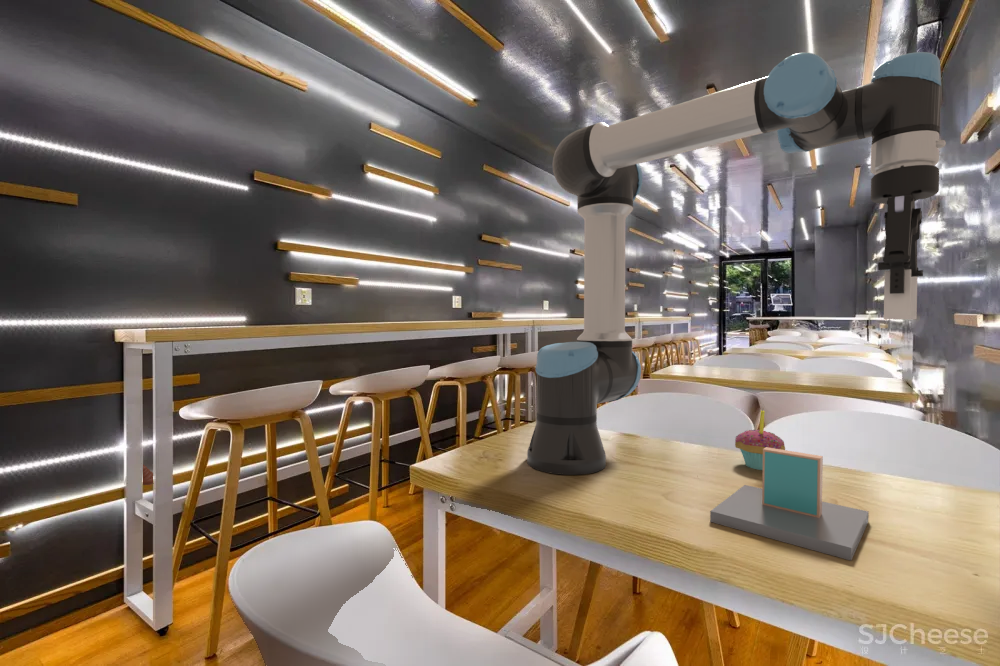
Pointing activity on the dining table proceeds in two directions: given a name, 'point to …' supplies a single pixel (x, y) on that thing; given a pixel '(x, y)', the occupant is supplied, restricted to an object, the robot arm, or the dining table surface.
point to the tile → (792, 481)
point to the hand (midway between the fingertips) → (901, 319)
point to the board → (794, 523)
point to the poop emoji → (147, 476)
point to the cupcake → (757, 444)
